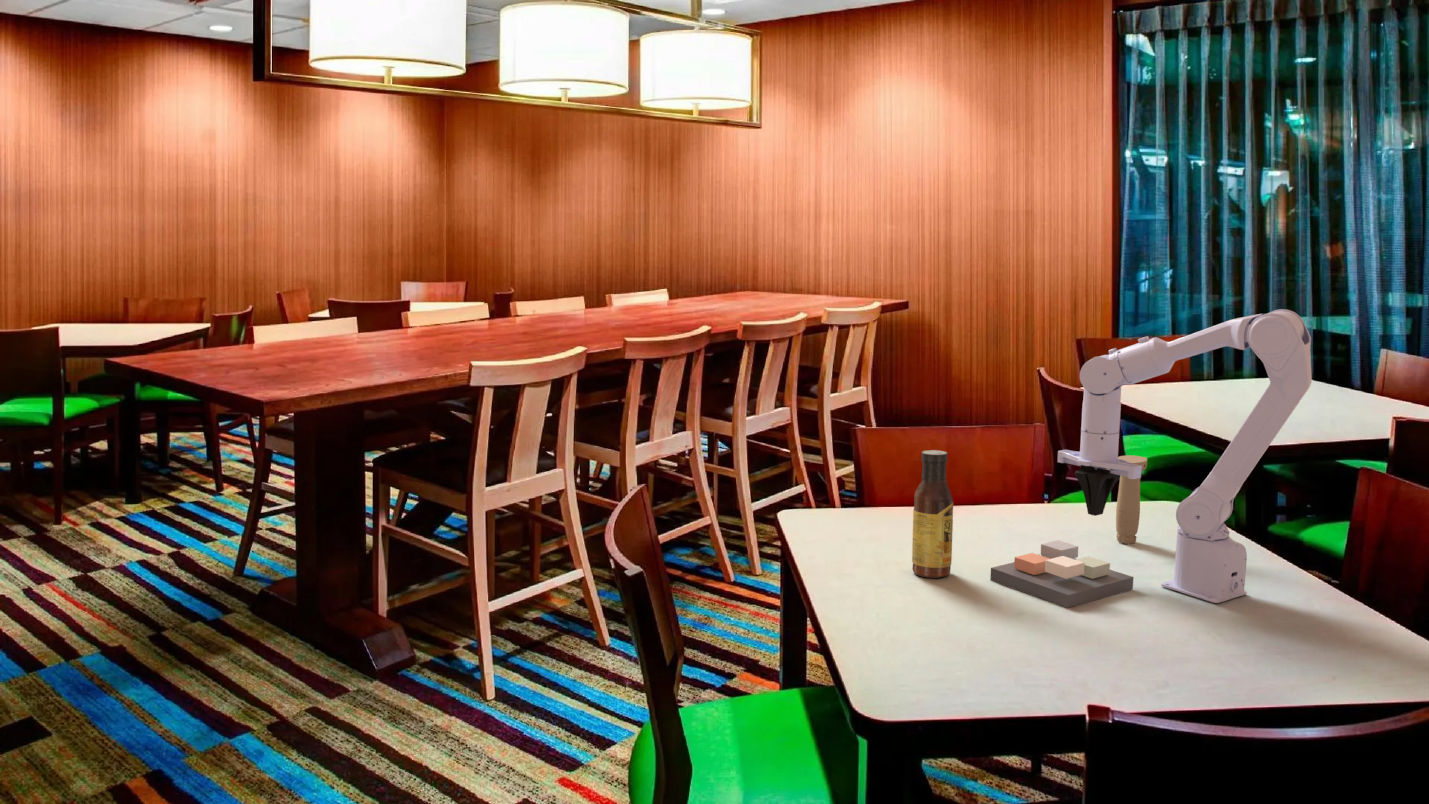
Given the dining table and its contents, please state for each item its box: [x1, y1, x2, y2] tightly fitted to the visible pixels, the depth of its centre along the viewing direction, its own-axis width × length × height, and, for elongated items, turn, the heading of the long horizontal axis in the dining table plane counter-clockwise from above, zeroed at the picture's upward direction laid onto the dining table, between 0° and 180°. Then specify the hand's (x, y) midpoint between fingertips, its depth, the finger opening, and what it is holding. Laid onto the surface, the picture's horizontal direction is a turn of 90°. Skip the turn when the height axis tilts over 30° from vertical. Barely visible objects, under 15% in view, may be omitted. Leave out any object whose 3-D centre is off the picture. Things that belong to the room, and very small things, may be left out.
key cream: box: [1045, 556, 1085, 579], centre depth 162 cm, size 4×4×2 cm
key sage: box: [1075, 556, 1111, 579], centre depth 166 cm, size 4×4×2 cm
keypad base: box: [989, 556, 1134, 609], centre depth 167 cm, size 15×15×2 cm
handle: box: [1115, 454, 1148, 545], centre depth 188 cm, size 5×6×15 cm
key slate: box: [1040, 539, 1079, 559], centre depth 170 cm, size 4×4×2 cm
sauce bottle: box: [911, 449, 954, 579], centre depth 171 cm, size 7×6×20 cm
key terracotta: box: [1013, 552, 1049, 575], centre depth 167 cm, size 4×4×2 cm
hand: (1095, 514), depth 173 cm, fingers closed
